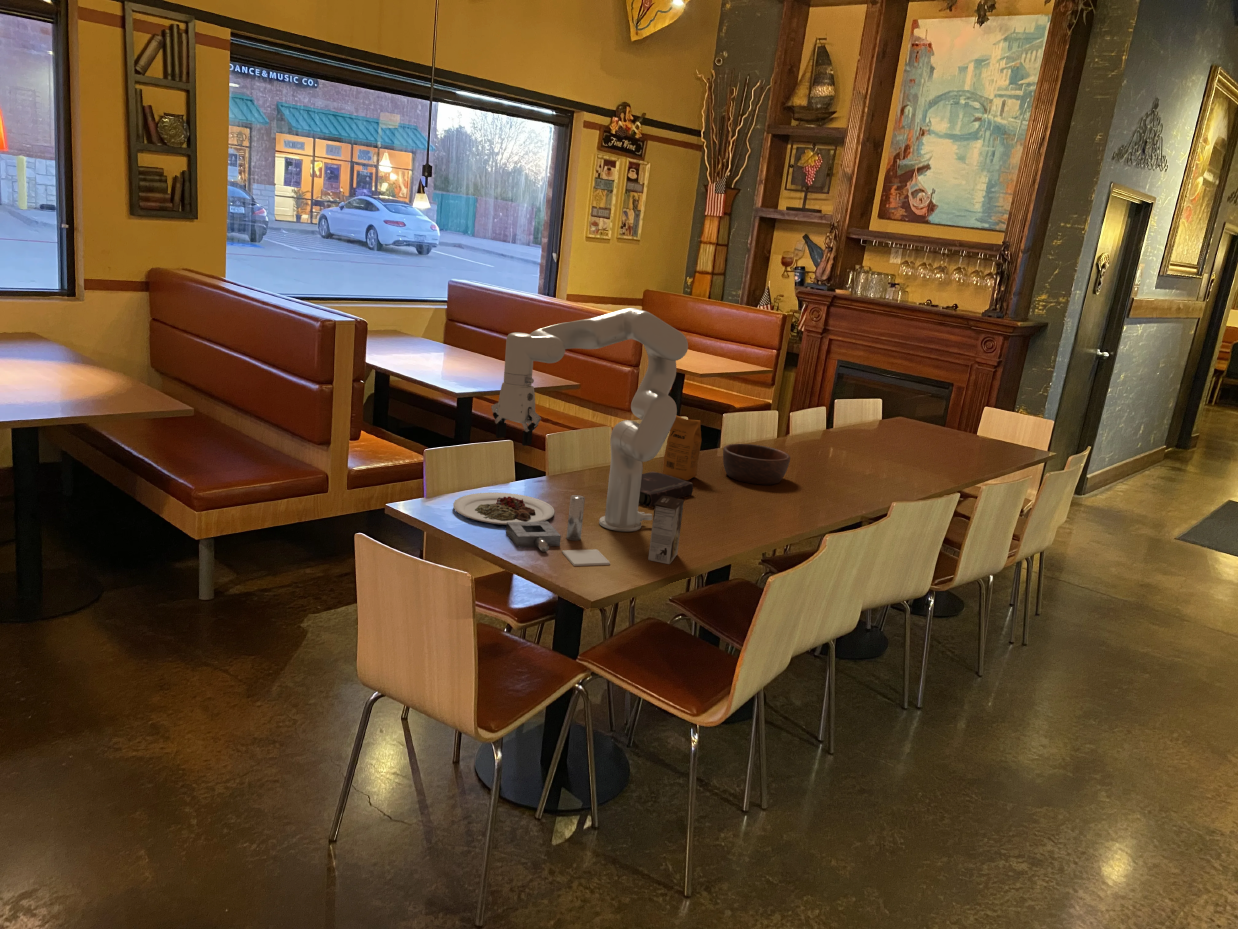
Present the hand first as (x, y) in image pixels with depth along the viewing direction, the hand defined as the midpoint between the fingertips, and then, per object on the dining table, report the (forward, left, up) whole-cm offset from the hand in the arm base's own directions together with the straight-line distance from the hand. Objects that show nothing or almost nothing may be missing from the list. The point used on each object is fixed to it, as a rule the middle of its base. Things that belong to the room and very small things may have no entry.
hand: (513, 441), depth 257 cm
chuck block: (-6, +9, -26) cm, 28 cm away
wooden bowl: (-110, -54, -27) cm, 125 cm away
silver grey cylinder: (-18, +7, -26) cm, 32 cm away
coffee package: (-80, -56, -26) cm, 101 cm away
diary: (-59, -34, -27) cm, 73 cm away
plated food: (-4, -17, -27) cm, 32 cm away
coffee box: (-38, +24, -26) cm, 52 cm away
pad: (-16, +23, -26) cm, 38 cm away
